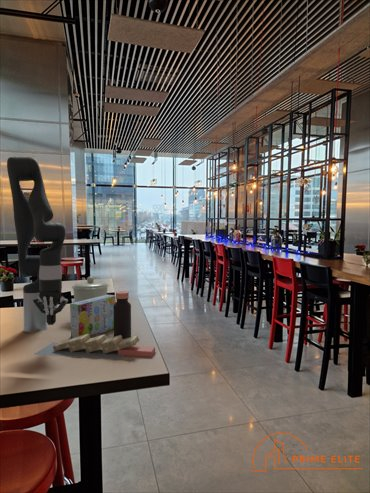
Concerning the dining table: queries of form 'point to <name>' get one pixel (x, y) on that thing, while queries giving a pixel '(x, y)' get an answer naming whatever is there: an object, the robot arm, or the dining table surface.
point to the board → (79, 353)
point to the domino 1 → (71, 342)
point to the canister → (89, 289)
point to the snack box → (92, 315)
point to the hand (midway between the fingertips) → (51, 324)
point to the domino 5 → (137, 351)
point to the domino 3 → (105, 344)
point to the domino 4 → (122, 344)
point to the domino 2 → (89, 343)
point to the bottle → (122, 315)
